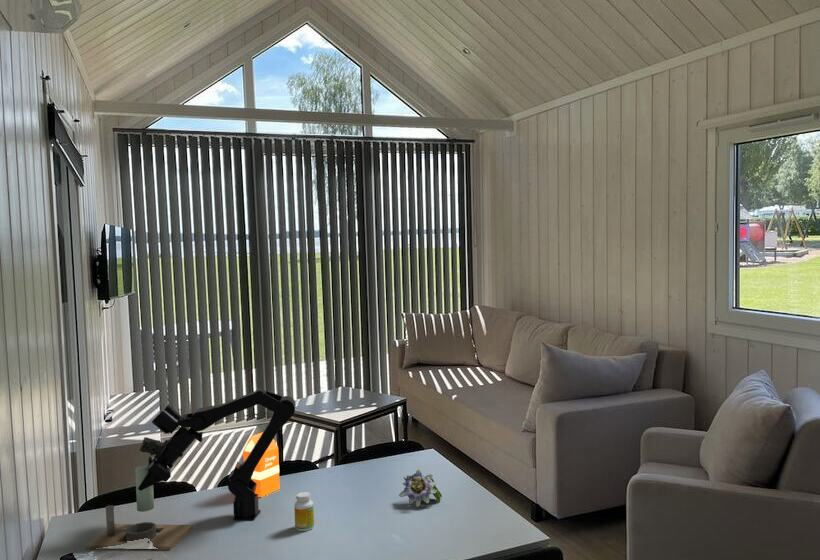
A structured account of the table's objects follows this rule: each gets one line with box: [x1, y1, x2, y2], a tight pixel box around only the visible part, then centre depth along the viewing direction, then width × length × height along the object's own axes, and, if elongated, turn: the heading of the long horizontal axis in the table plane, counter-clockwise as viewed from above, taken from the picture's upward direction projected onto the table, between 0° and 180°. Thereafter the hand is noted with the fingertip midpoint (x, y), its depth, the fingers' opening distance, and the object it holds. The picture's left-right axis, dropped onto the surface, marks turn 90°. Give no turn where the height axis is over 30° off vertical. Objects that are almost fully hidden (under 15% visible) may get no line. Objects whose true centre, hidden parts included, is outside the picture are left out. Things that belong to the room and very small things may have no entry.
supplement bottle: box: [293, 491, 315, 532], centre depth 182 cm, size 5×5×10 cm
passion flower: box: [399, 469, 443, 508], centre depth 199 cm, size 11×11×12 cm
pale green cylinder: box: [134, 464, 155, 512], centre depth 185 cm, size 5×5×12 cm
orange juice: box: [242, 431, 281, 498], centre depth 212 cm, size 8×9×20 cm
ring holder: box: [85, 504, 194, 551], centre depth 178 cm, size 24×14×9 cm, turn 85°
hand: (139, 486), depth 184 cm, fingers closed on pale green cylinder, 5 cm apart
